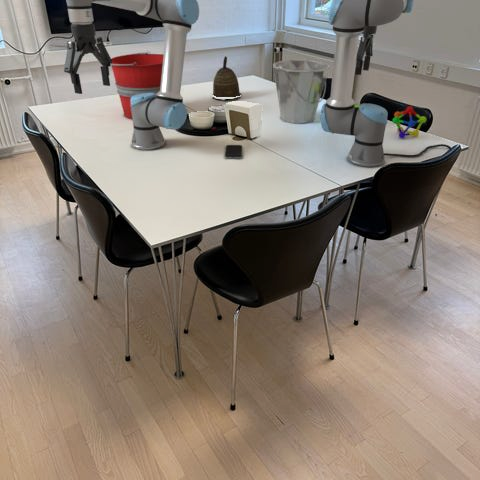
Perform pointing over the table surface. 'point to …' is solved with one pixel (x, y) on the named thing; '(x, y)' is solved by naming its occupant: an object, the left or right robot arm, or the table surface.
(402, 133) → the educational toy
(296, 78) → the bucket
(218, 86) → the bell
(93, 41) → the left robot arm
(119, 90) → the bucket
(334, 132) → the right robot arm
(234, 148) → the smartphone
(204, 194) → the table surface
